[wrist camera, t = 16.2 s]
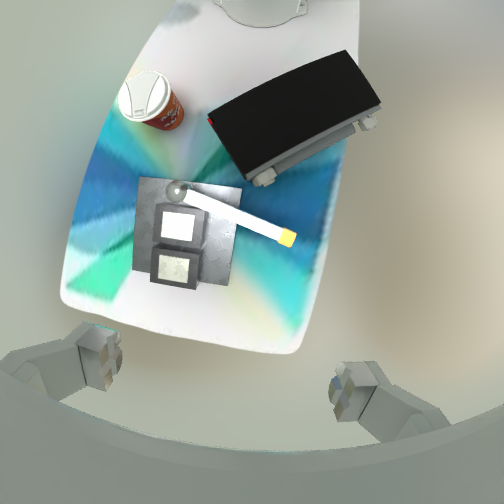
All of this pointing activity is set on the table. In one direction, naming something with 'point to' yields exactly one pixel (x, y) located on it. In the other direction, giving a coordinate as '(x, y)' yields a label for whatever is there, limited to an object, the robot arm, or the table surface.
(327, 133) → the electrical component
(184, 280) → the tray
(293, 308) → the table surface
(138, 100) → the paper cup
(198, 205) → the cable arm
